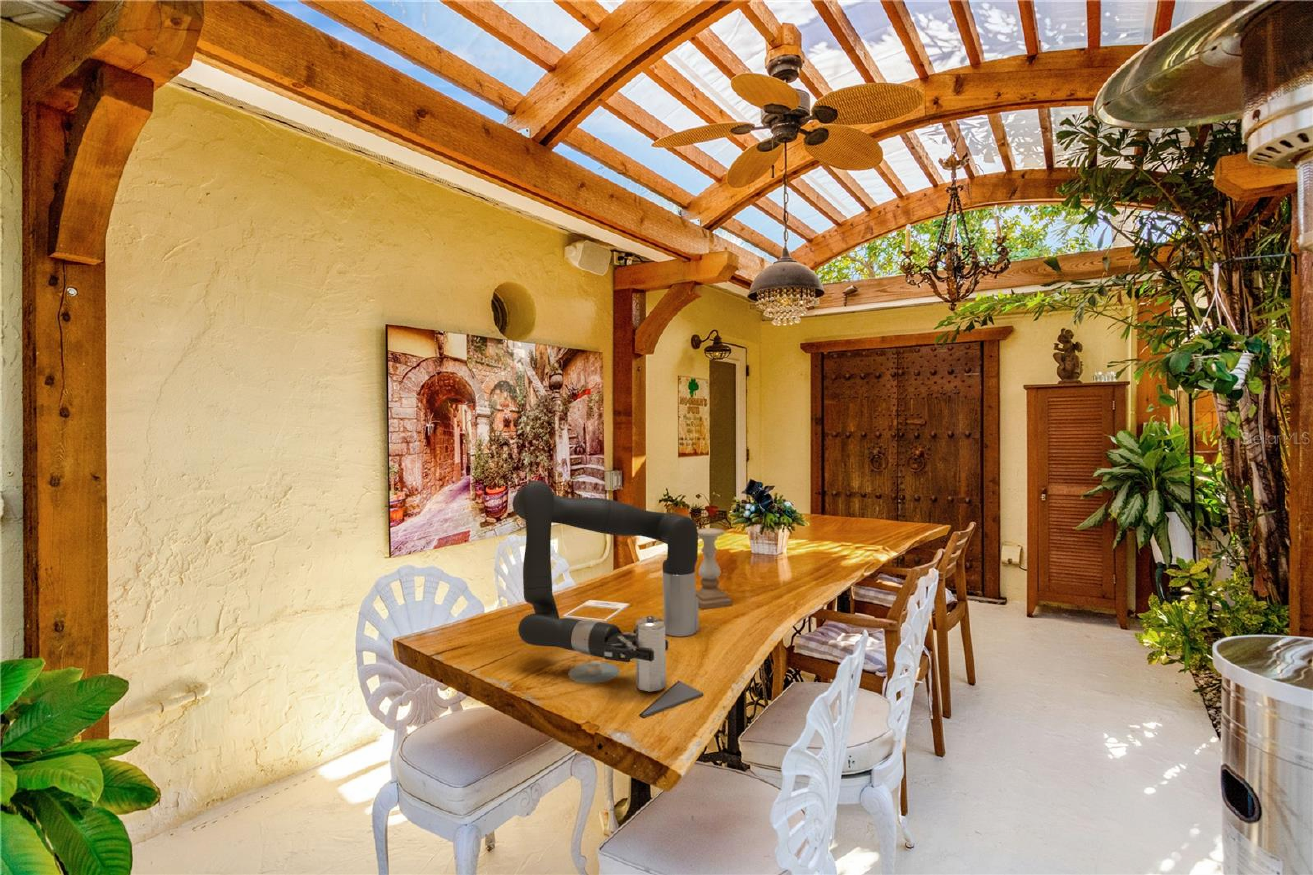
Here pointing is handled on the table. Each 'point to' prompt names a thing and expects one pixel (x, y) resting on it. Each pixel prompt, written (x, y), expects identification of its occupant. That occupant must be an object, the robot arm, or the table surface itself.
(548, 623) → the robot arm
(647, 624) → the steel canister
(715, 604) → the candle holder
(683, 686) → the rubber mat
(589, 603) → the white rectangular frame
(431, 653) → the table surface
